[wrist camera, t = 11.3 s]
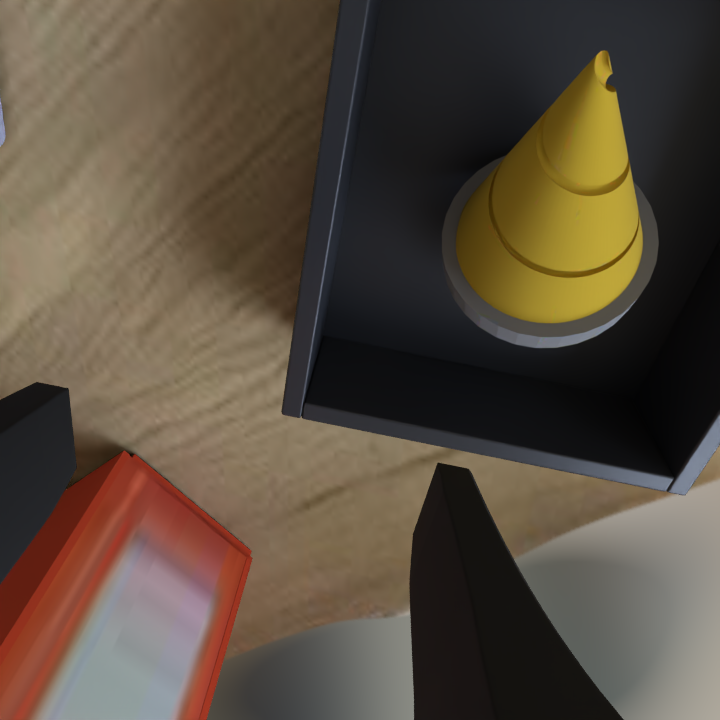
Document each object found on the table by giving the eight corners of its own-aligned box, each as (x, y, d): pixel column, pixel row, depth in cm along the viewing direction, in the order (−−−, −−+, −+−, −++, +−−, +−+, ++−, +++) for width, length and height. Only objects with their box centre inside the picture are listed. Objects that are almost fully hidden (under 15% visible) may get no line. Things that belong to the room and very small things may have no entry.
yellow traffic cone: (411, 284, 19) (364, 56, 10) (537, 186, 19) (611, -132, 10) (521, 408, 18) (593, 280, 8) (657, 300, 18) (883, 50, 8)
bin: (306, 338, 21) (280, 415, 17) (380, -135, 14) (365, -187, 10) (637, 406, 21) (685, 496, 17) (876, -24, 14) (1046, -31, 10)
